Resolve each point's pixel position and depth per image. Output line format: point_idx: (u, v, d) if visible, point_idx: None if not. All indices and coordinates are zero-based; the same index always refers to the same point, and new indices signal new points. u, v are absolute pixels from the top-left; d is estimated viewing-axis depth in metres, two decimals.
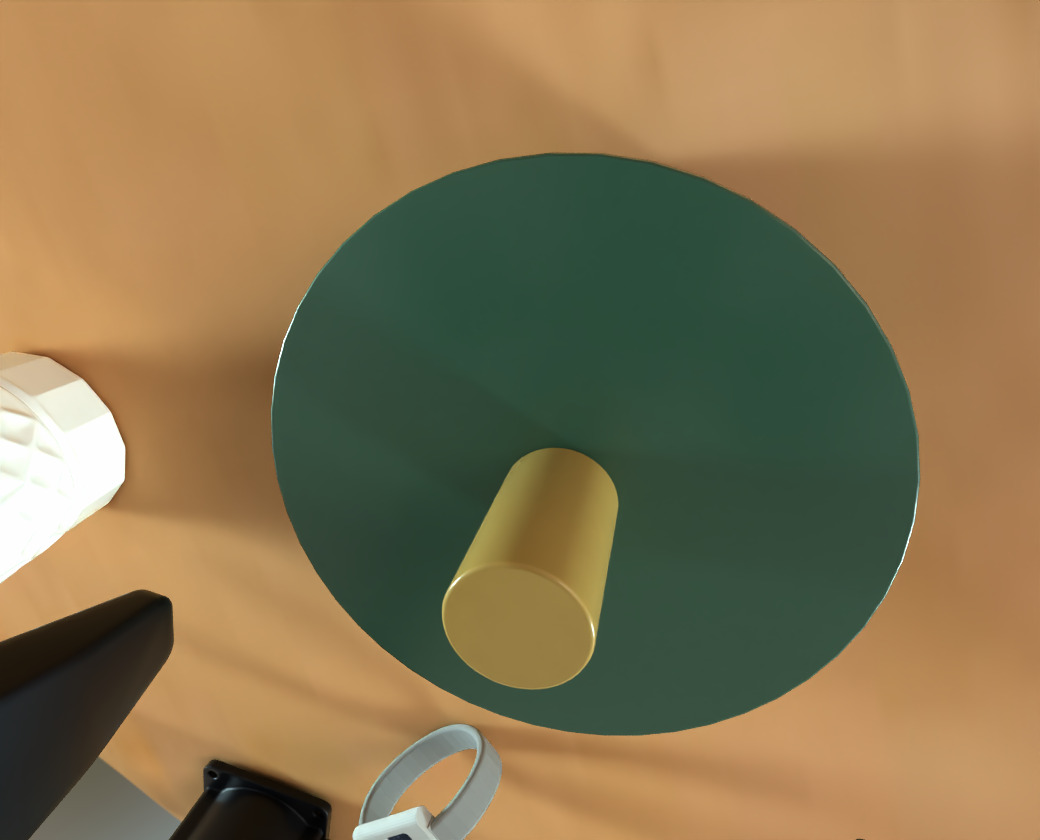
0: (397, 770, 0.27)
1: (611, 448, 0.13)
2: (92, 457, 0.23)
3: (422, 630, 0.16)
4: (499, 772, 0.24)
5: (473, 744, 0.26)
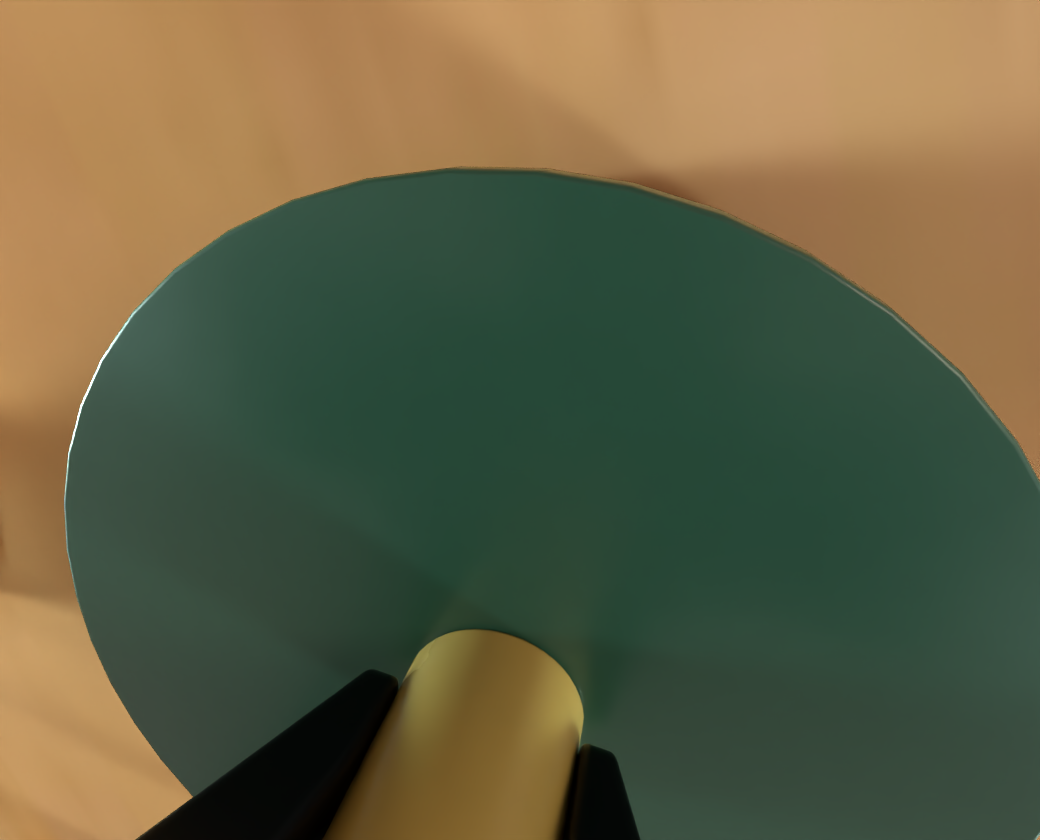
0: None
1: (570, 635, 0.08)
2: None
3: None
4: None
5: None
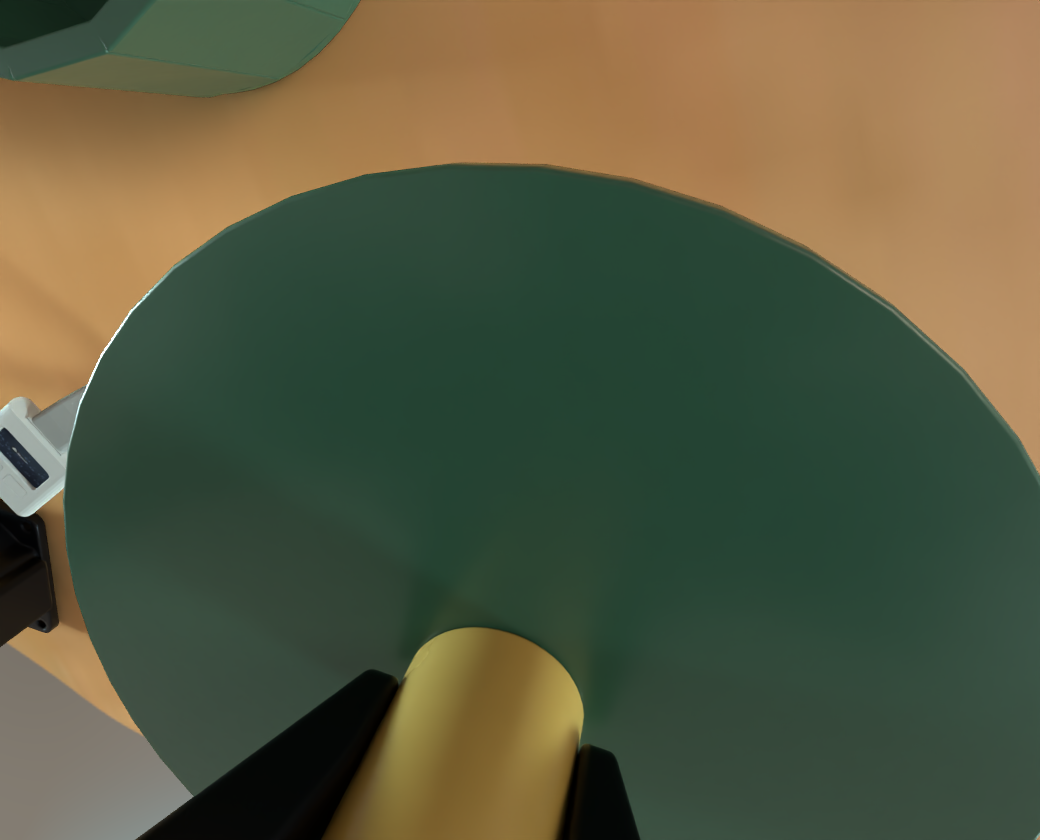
0: None
1: (570, 633, 0.08)
2: None
3: None
4: None
5: None
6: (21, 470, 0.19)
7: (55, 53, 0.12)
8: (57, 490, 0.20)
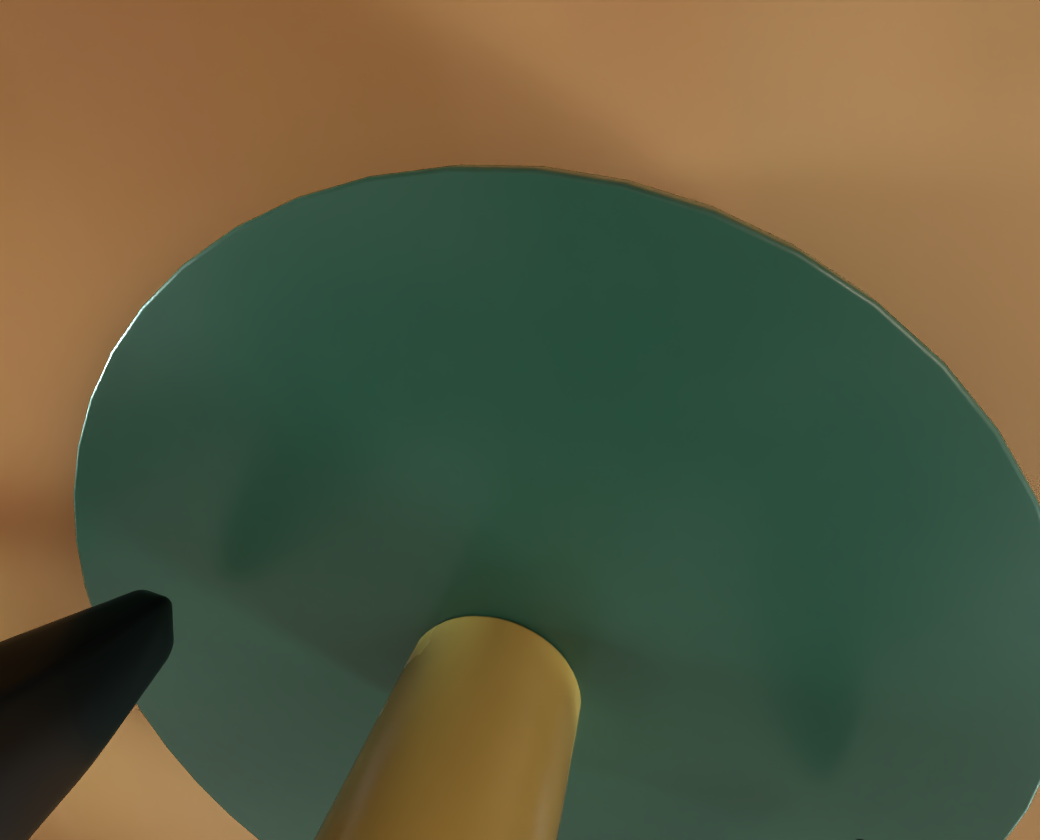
0: None
1: (568, 621, 0.08)
2: None
3: (314, 829, 0.11)
4: None
5: None
6: None
7: None
8: None
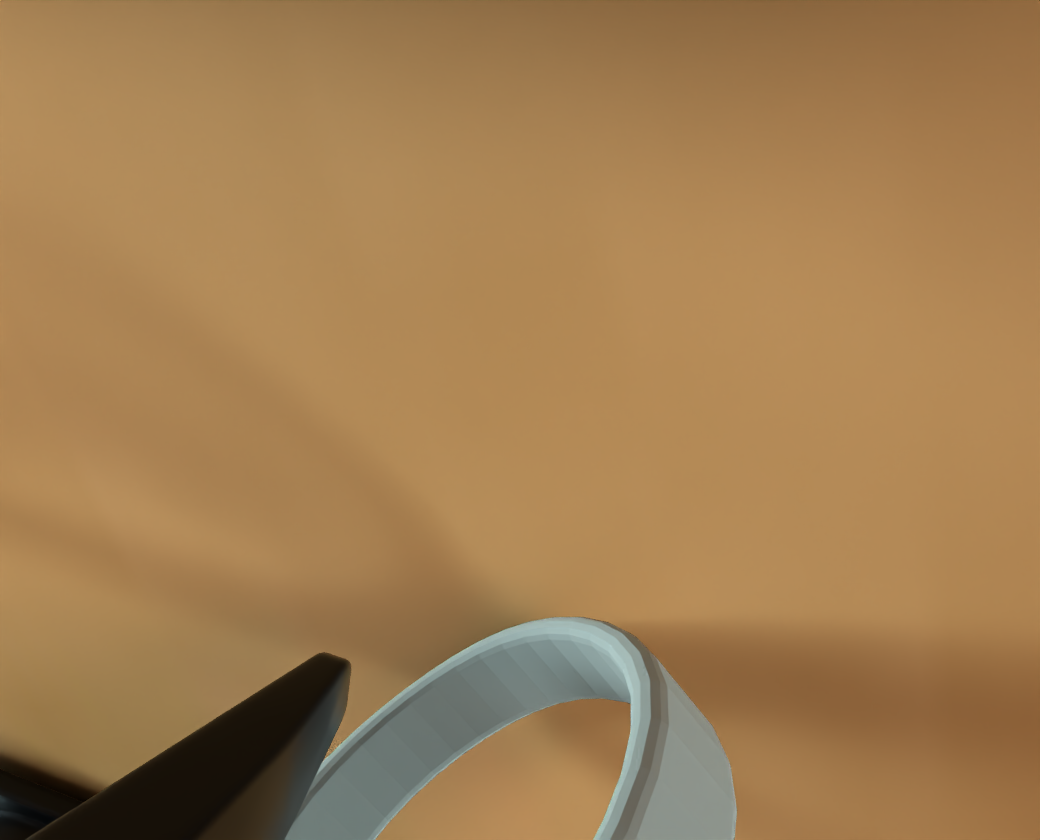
0: (351, 775, 0.09)
1: None
2: None
3: None
4: (726, 767, 0.06)
5: (584, 682, 0.08)
6: None
7: None
8: None
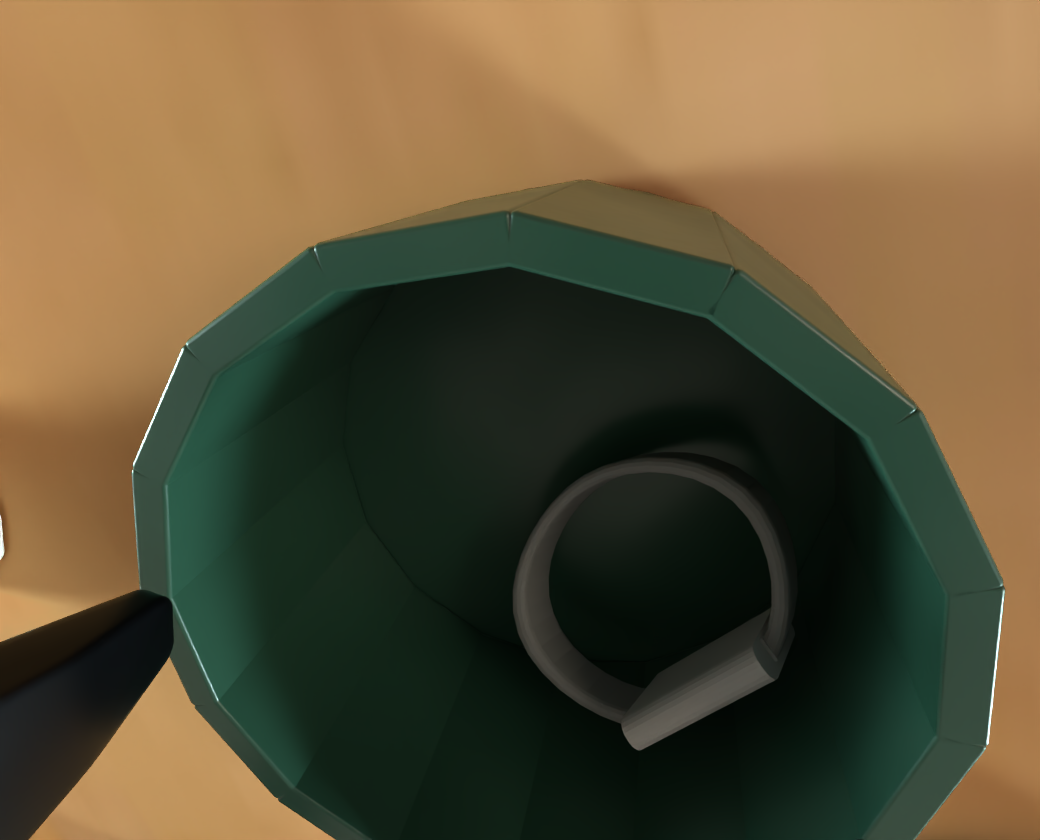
0: (532, 585, 0.14)
1: None
2: None
3: None
4: (761, 485, 0.13)
5: None
6: None
7: None
8: None
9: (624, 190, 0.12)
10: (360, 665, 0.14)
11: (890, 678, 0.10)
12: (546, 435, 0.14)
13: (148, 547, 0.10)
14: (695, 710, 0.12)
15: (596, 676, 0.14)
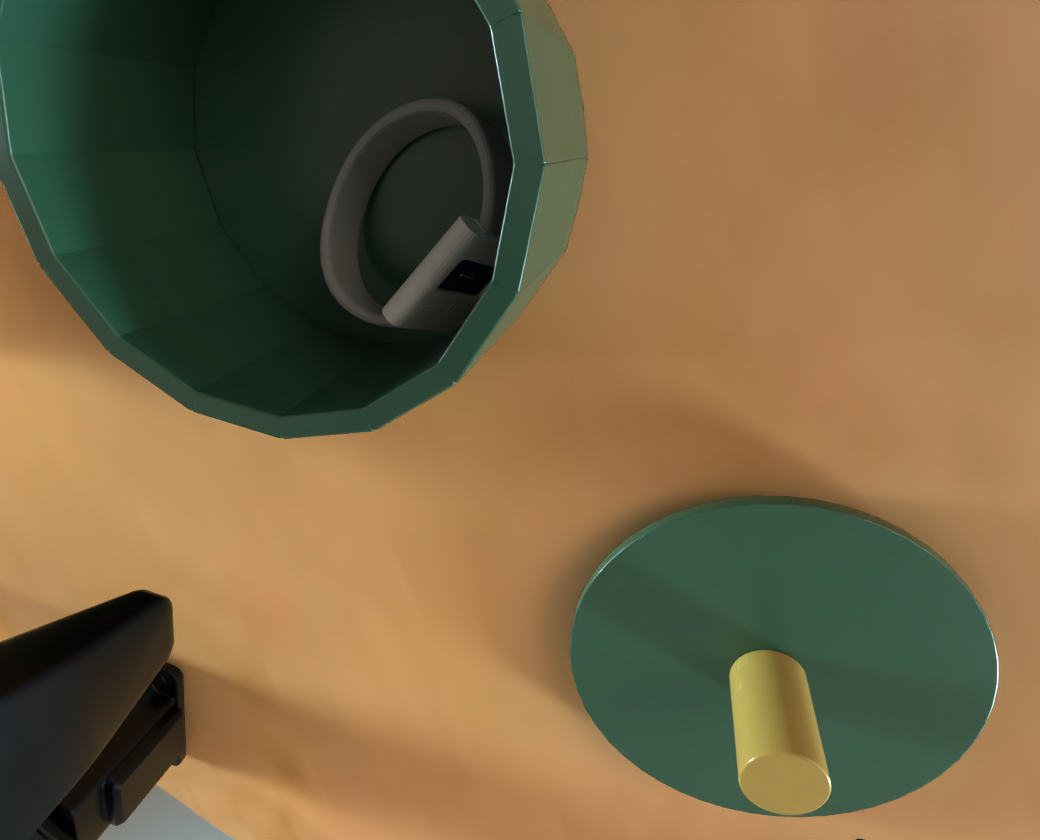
0: (336, 242, 0.18)
1: (805, 652, 0.21)
2: None
3: (655, 746, 0.24)
4: (491, 123, 0.16)
5: (411, 133, 0.17)
6: (463, 290, 0.17)
7: (325, 427, 0.15)
8: None
9: None
10: (196, 302, 0.18)
11: None
12: (347, 121, 0.18)
13: None
14: (424, 273, 0.15)
15: None
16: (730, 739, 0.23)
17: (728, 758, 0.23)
